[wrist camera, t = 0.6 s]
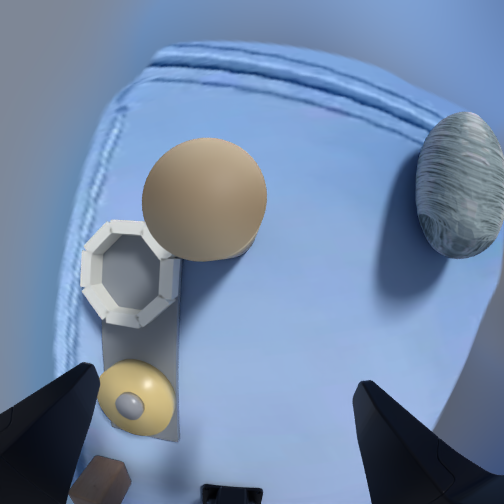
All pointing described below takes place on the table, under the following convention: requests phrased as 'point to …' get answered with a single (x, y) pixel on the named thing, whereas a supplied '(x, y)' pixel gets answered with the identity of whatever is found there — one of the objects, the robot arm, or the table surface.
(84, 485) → the wooden block
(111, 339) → the board
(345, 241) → the table surface
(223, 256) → the peg
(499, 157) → the grey streaked oval stone
